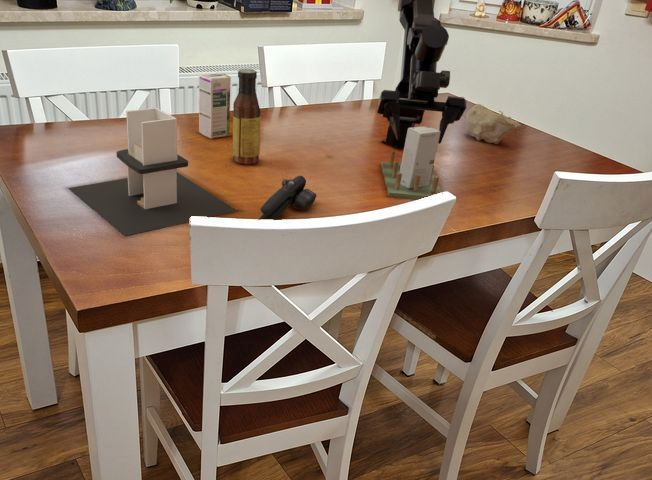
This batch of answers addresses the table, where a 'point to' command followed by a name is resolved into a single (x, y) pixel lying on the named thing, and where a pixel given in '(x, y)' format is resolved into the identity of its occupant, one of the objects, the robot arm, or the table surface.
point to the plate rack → (400, 191)
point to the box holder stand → (150, 180)
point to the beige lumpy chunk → (489, 124)
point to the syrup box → (214, 104)
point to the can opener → (288, 198)
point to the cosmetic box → (419, 155)
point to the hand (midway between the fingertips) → (418, 140)
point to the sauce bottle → (246, 120)
